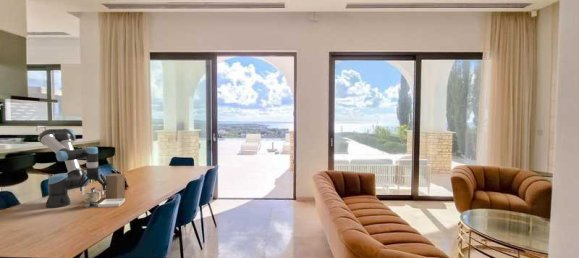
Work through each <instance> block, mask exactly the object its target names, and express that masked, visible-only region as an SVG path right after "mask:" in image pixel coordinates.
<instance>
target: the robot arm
mask: <svg viewBox="0 0 579 258" xmlns="http://www.w3.org/2000/svg"><path fill="white" fill-rule="evenodd" d="M38 140H39V143H40V144H41V145H42V146H45V147H47V148H48V149H50V150H51V151H52V152H54V153H55V158H56V160H57V161H58V162H64V163H65V166H66V169H67V173H65V172H64V173H57V174H53V175H51V176H49V177H48V183H47V185H48V187H47V189H48V197H47V200H46V202H45V207H46V208H49V209H52V208H53V209H55V208H62V207H66V206H69V205H70V204H71V203H72V201H71V198H70V197H69V194H68V193H69V192H68V191H70V190H75V189H79V191H80V192H81V197H83V196H85V187H87V186H88V185H89V183H90V180H91V181H92V180H93V181H94V180H95V181H97V182H98V183H99V184H100V185H101V196H103V195H104V194H105V191H106V185H108V183H107V181H106V177H104V173H103V172H102V173H99V148H98V147H97V146H88V147H86V148H80V149H79V148H78V149H75V148H74V143H75V141H76V134H75V131H74V130H72V129H71V128H49V129H45V130H44V131H42V132H41V133H40V134H39V136H38ZM79 160H86V163H85V165H86V171H85V170H84V168H82V167H81V165H80V162H79Z"/></svg>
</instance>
